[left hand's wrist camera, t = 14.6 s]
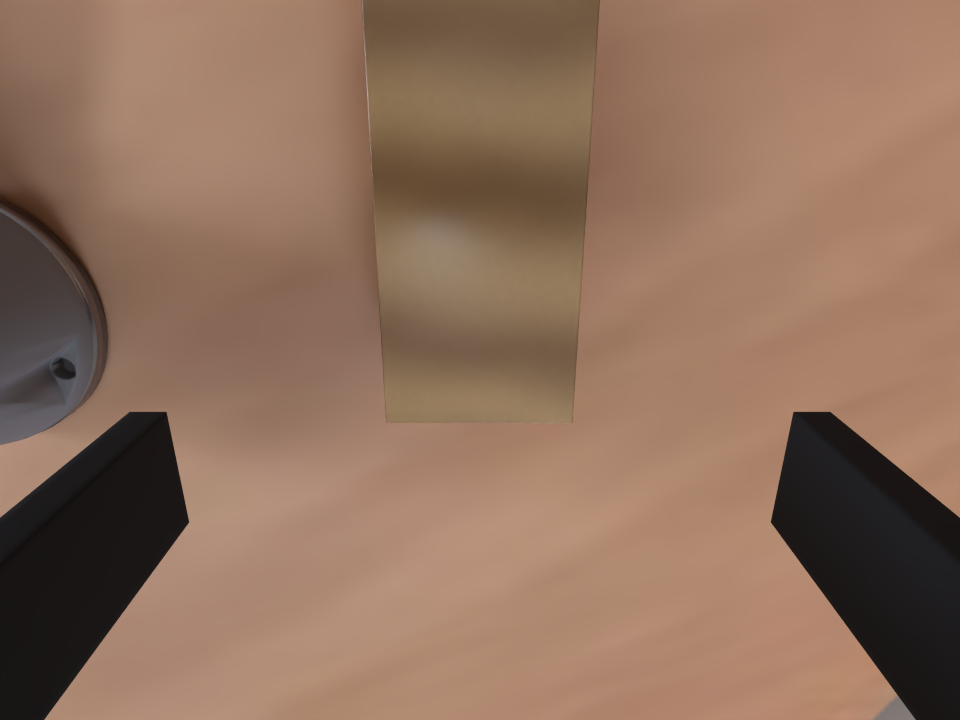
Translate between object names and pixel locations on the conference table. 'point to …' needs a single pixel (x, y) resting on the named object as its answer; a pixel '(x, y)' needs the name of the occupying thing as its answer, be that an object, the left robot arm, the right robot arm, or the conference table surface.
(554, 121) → the wide beam
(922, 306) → the conference table surface
